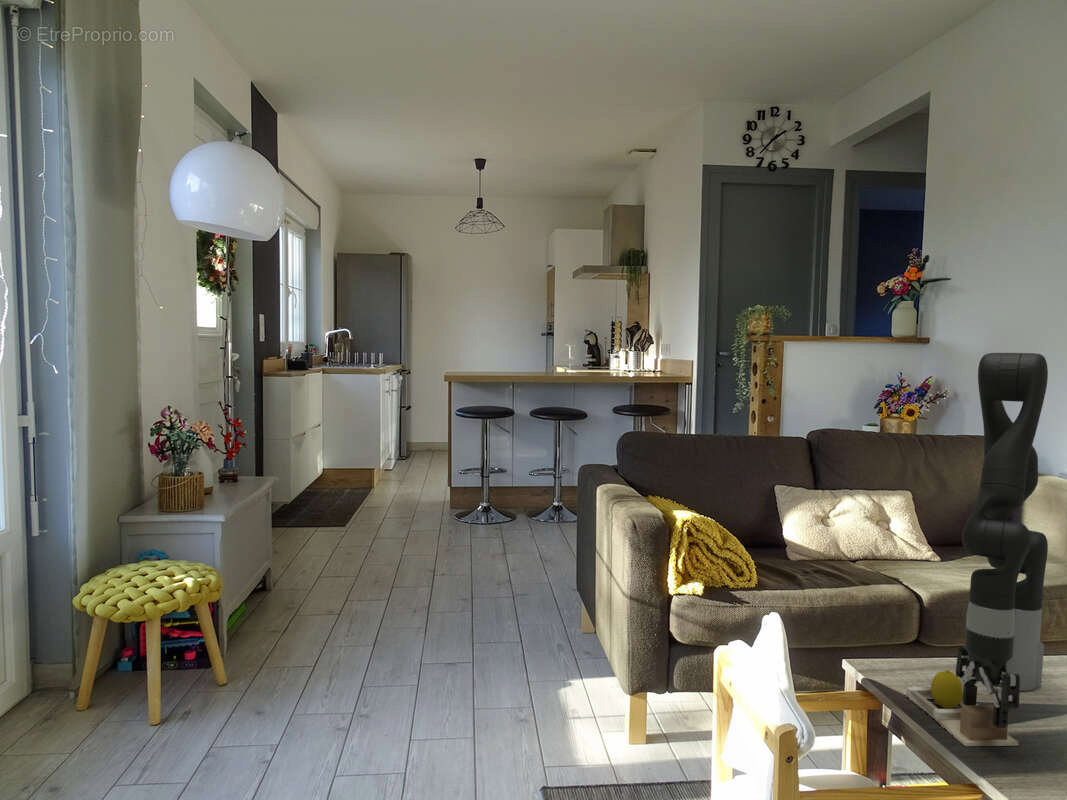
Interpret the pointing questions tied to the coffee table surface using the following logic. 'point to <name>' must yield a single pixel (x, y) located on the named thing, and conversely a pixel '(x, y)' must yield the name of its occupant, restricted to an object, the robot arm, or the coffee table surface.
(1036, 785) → the coffee table surface
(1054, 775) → the coffee table surface
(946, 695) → the lemon
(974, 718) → the white open frame tray
